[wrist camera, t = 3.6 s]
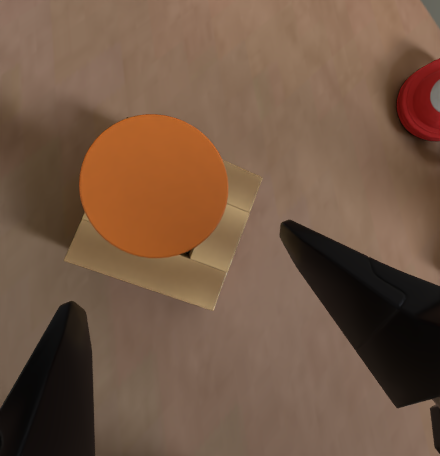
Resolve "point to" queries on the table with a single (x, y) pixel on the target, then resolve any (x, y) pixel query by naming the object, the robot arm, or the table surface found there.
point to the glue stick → (153, 186)
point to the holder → (181, 264)
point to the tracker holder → (421, 102)
